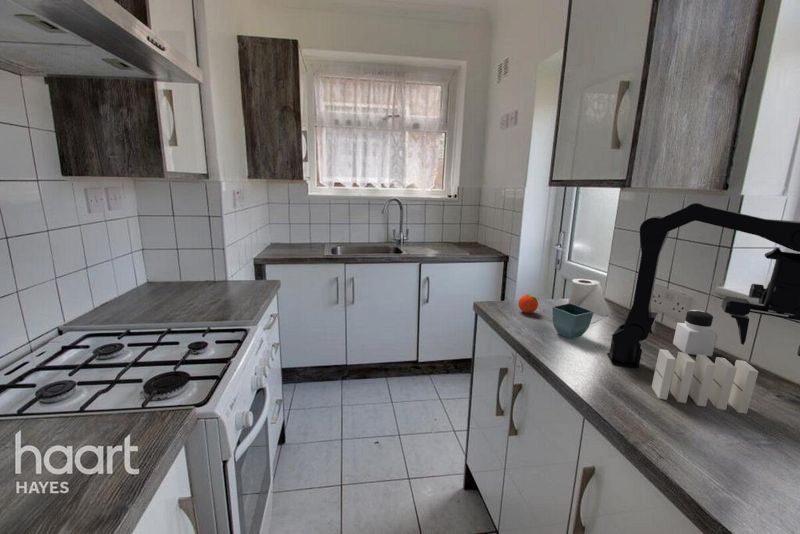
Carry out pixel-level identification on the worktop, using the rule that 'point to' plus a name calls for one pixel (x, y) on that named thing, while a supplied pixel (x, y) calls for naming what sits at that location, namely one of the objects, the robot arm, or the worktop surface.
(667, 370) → the domino
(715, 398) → the domino
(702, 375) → the domino
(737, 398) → the domino
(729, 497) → the worktop surface
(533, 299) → the clementine
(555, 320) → the flower pot
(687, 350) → the medicine bottle
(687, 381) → the domino
